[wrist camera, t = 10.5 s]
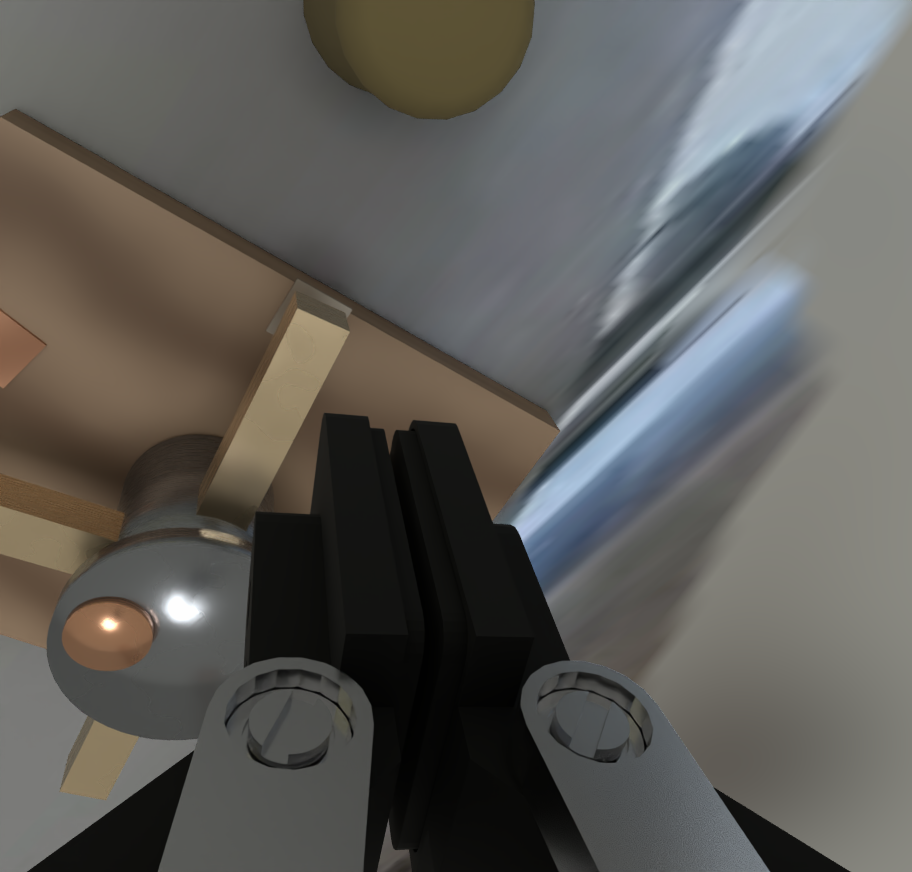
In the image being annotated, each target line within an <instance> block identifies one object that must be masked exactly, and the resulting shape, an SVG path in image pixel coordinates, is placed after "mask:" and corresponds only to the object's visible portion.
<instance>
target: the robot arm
mask: <svg viewBox="0 0 912 872" xmlns="http://www.w3.org/2000/svg"><path fill="white" fill-rule="evenodd" d="M388 818H389V825H390V833H391V840H392V845H393V848H394V849H395V850H405V849H409V852H410V860H411V867H412V872H850V871H848V870H847V869H845V868H843V867H842V866H840V865H838V864H837V863H835V862H834V861H832V860H830V859H829V858H827V857H825V856H824V855H822V854H821V853H819V852H818V851H816V850H814V849H813V848H811V847H809V846H808V845H806V844H805V843H803V842H801V841H800V840H798V839H796V838H795V837H793V836H792V835H790V834H788V833H787V832H785V831H784V830H782V829H780V828H779V827H777V826H775V825H774V824H772V823H771V822H769V821H767V820H766V819H764V818H762V817H761V816H759V815H757V814H756V813H754V812H753V811H751V810H750V809H748V808H746V807H745V806H743V805H741V804H740V803H738V802H736V801H735V800H733V799H732V798H730V797H728V796H726V795H725V794H724V793H722V792H720V791H719V790H717V789H716V788H714V787H713V786H712V785H711V784H710V782H709V780H708V779H707V778H706V776H705V775H704V773H703V772H702V770H701V769H700V767H699V766H698V764H697V763H696V761H695V760H694V758H693V757H692V755H691V754H690V752H689V751H688V749H687V748H686V746H685V745H684V743H683V742H682V740H681V739H680V737H679V736H678V734H677V733H676V732H675V730H674V729H673V727H672V726H671V724H670V723H669V721H668V720H667V718H666V717H665V715H664V714H663V713H662V711H661V709H660V708H659V706H658V705H657V704H656V703H655V702H654V700H653V699H652V698H651V697H650V696H649V695H648V694H647V692H646V691H645V690H644V689H643V688H641V687H640V686H638V685H637V684H636V683H634V682H633V681H632V680H630V679H629V678H628V677H626V676H624V675H622V674H620V673H618V672H616V671H614V670H612V669H609V668H607V667H605V666H601V665H597V664H593V663H589V662H585V661H570V659H569V657H568V654H567V652H566V649H565V647H564V644H563V642H562V639H561V637H560V634H559V632H558V629H557V627H556V624H555V622H554V619H553V617H552V614H551V612H550V609H549V607H548V605H547V602H546V600H545V597H544V595H543V592H542V590H541V587H540V585H539V582H538V580H537V577H536V575H535V572H534V570H533V567H532V565H531V562H530V560H529V557H528V555H527V552H526V550H525V547H524V545H523V542H522V540H521V537H520V535H519V533H518V531H517V530H516V528H515V527H514V526H512V525H506V524H493V522H492V519H491V516H490V514H489V511H488V508H487V505H486V503H485V500H484V497H483V494H482V492H481V489H480V486H479V483H478V481H477V478H476V475H475V472H474V470H473V467H472V464H471V462H470V459H469V456H468V453H467V451H466V448H465V445H464V442H463V440H462V437H461V434H460V431H459V429H458V426H457V425H456V423H445V422H433V421H420V420H413V421H412V422H411V424H410V427H409V430H408V431H406V430H396V431H395V432H394V435H393V440H392V445H391V451H390V454H389V449H388V445H387V440H386V435H385V431H384V429H381V428H370V422H369V418H368V416H359V415H346V414H334V413H324V414H323V418H322V423H321V430H320V438H319V446H318V454H317V462H316V470H315V478H314V486H313V494H312V502H311V510H310V514H296V513H277V512H258V511H256V512H255V519H254V529H253V540H252V551H251V563H250V575H249V587H248V601H247V615H246V632H245V650H244V668H243V669H241V670H239V671H237V672H235V673H233V674H232V675H231V676H230V677H229V678H228V679H227V680H226V681H225V682H224V683H222V684H221V685H220V686H219V687H218V688H217V690H216V692H215V694H214V696H213V697H212V699H211V701H210V703H209V705H208V707H207V711H206V714H205V717H204V720H203V724H202V727H201V730H200V734H199V737H198V740H197V744H196V747H195V750H194V751H193V752H191V753H190V754H189V755H187V756H186V757H184V758H183V759H182V760H180V761H179V762H177V763H176V764H175V765H173V766H172V767H171V768H169V769H168V770H166V771H165V772H164V773H162V774H161V775H160V776H158V777H157V778H155V779H154V780H153V781H151V782H150V783H149V784H147V785H146V786H144V787H143V788H142V789H140V790H139V791H138V792H136V793H135V794H133V795H132V796H131V797H129V798H128V799H127V800H125V801H124V802H122V803H121V804H120V805H118V806H117V807H116V808H114V809H113V810H111V811H110V812H109V813H107V814H106V815H105V816H103V817H102V818H100V819H99V820H98V821H96V822H95V823H94V824H92V825H91V826H89V827H88V828H87V829H85V830H84V831H83V832H81V833H80V834H78V835H77V836H76V837H74V838H73V839H72V840H70V841H69V842H67V843H66V844H65V845H63V846H62V847H60V848H59V849H58V850H56V851H55V852H54V853H52V854H51V855H49V856H48V857H47V858H45V859H44V860H43V861H41V862H40V863H38V864H37V865H36V866H34V867H33V868H32V869H30V870H29V871H27V872H377V868H378V863H379V859H380V854H381V850H382V845H383V841H384V836H385V832H386V827H387V823H388Z"/></svg>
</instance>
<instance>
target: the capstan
mask: <svg viewBox="0 0 912 872" xmlns="http://www.w3.org/2000/svg"><path fill="white" fill-rule="evenodd" d="M349 333H350V330H349V326H348V322H347V318H346V314H345V312H342V311H340V310H338V309H336V308H334V307H331V306H329V305H327V304H325V303H323V302H321V301H318V300H316V299H314V298H312V297H310V296H307V295H305V294H303V293H301V292H299V291H296V290H295V292H294V294H293V296H292V298H291V301H290V303H289V305H288V307H287V309H286V311H285V313H284V315H283V317H282V319H281V321H280V323H279V325H278V327H277V329H276V331H275V333H274V335H273V337H272V339H271V341H270V344H269V346H268V348H267V350H266V352H265V354H264V356H263V358H262V360H261V362H260V364H259V366H258V368H257V370H256V372H255V374H254V376H253V378H252V380H251V382H250V385H249V387H248V389H247V391H246V393H245V395H244V397H243V399H242V401H241V403H240V405H239V407H238V409H237V411H236V413H235V415H234V417H233V419H232V421H231V423H230V426H229V428H228V430H227V432H226V434H225V436H224V438H220V437H216V436H211V435H199V434H198V435H184V436H178V437H174V438H171V439H168V440H165V441H163V442H160V443H158V444H156V445H155V446H153V447H151V448H150V449H148V450H147V451H146V452H144V453H143V454H142V455H141V456H140V457H139V458H138V459H137V460H136V461H135V463H134V464H133V465H132V467H131V468H130V470H129V472H128V474H127V477H126V479H125V482H124V486H123V489H122V493H121V497H120V500H119V504H118V508H117V510H114V509H111V508H108V507H105V506H101V505H98V504H95V503H92V502H89V501H86V500H83V499H79V498H76V497H73V496H70V495H67V494H64V493H61V492H58V491H54V490H51V489H48V488H45V487H42V486H39V485H36V484H33V483H29V482H26V481H23V480H20V479H17V478H14V477H11V476H8V475H4V474H1V473H0V554H2V555H6V556H9V557H13V558H16V559H20V560H23V561H27V562H30V563H34V564H37V565H41V566H44V567H48V568H52V569H55V570H59V571H62V572H66V573H69V574H73V575H72V576H71V577H70V578H69V580H68V581H67V582H66V584H65V586H64V588H63V590H62V591H61V593H60V595H59V598H58V601H57V604H56V607H55V610H54V613H53V616H52V619H51V622H50V625H49V629H48V635H47V657H48V662H49V667H50V670H51V672H52V674H53V677H54V679H55V681H56V683H57V684H58V686H59V688H60V689H61V691H62V692H63V693H64V694H65V696H66V697H67V698H68V699H69V700H70V702H72V703H73V704H74V705H75V706H76V707H77V708H78V709H79V710H81V711H82V712H83V713H85V714H86V715H88V717H87V719H86V721H85V723H84V725H83V727H82V729H81V731H80V733H79V735H78V737H77V739H76V741H75V743H74V745H73V747H72V749H71V751H70V753H69V756H68V760H67V764H66V768H65V772H64V776H63V780H62V784H61V788H60V792H65V793H70V794H75V795H81V796H86V797H91V798H97V799H102V800H106V799H107V797H108V795H109V793H110V791H111V790H112V788H113V786H114V784H115V782H116V780H117V778H118V776H119V774H120V772H121V770H122V768H123V767H124V765H125V763H126V761H127V759H128V757H129V755H130V753H131V751H132V749H133V747H134V745H135V744H136V742H137V740H138V738H139V737H144V738H150V739H160V740H188V739H197V738H198V737H199V734H200V730H201V727H202V724H203V720H204V717H205V714H206V711H207V707H208V705H209V703H210V701H211V699H212V697H213V696H214V694H215V692H216V690H217V688H218V687H219V686H220V685H221V684H222V683H224V682H225V681H226V680H227V679H228V678H229V677H230V676H231V675H232V674H233V673H235V672H237V671H239V670H241V669H243V668H244V650H245V632H246V615H247V601H248V587H249V575H250V563H251V551H252V540H253V529H254V519H255V512H256V511H258V512H274V494H273V487H272V481H273V479H274V477H275V475H276V473H277V471H278V469H279V467H280V465H281V463H282V461H283V460H284V458H285V456H286V454H287V452H288V450H289V448H290V446H291V444H292V442H293V440H294V438H295V437H296V435H297V433H298V431H299V429H300V427H301V425H302V423H303V421H304V419H305V417H306V415H307V413H308V412H309V410H310V408H311V406H312V404H313V402H314V400H315V398H316V396H317V394H318V392H319V390H320V389H321V387H322V385H323V383H324V381H325V379H326V377H327V375H328V373H329V371H330V369H331V367H332V366H333V364H334V362H335V360H336V358H337V356H338V354H339V352H340V350H341V348H342V346H343V344H344V342H345V341H346V339H347V337H348V335H349Z"/></svg>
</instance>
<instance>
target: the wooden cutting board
mask: <svg viewBox="0 0 912 872" xmlns="http://www.w3.org/2000/svg"><path fill="white" fill-rule="evenodd" d="M295 290H296V291H299V292H301V293H303V294H305V295H307V296H310V297H312V298H314V299H316V300H318V301H321V302H323V303H325V304H327V305H329V306H331V307H334V308H336V309H338V310H340V311H342V312H345V314H346V318H347V322H348V326H349V330H350V333H349V335H348V337H347V339H346V341H345V342H344V344H343V346H342V348H341V350H340V352H339V354H338V356H337V358H336V360H335V362H334V364H333V366H332V367H331V369H330V371H329V373H328V375H327V377H326V379H325V381H324V383H323V385H322V387H321V389H320V390H319V392H318V394H317V396H316V398H315V400H314V402H313V404H312V406H311V408H310V410H309V412H308V413H307V415H306V417H305V419H304V421H303V423H302V425H301V427H300V429H299V431H298V433H297V435H296V437H295V438H294V440H293V442H292V444H291V446H290V448H289V450H288V452H287V454H286V456H285V458H284V460H283V461H282V463H281V465H280V467H279V469H278V471H277V473H276V475H275V477H274V479H273V481H272V487H273V494H274V512H277V513H296V514H310V510H311V502H312V494H313V486H314V478H315V470H316V462H317V454H318V446H319V438H320V430H321V423H322V418H323V414H324V413H334V414H346V415H359V416H368V418H369V422H370V428H381V429H384V431H385V435H386V440H387V445H388V449H389V454H390V451H391V445H392V440H393V435H394V432H395V431H396V430H406V431H408V430H409V427H410V424H411V422H412V421H413V420H420V421H433V422H445V423H456V425H457V426H458V429H459V431H460V434H461V437H462V440H463V442H464V445H465V448H466V451H467V453H468V456H469V459H470V462H471V464H472V467H473V470H474V472H475V475H476V478H477V481H478V483H479V486H480V489H481V492H482V494H483V497H484V500H485V503H486V505H487V508H488V511H489V514H490V516H491V519H492V521H493V519H494V518H495V517H496V515H497V514H498V513H499V511H500V510H501V509H502V507H503V506H504V505H505V503H506V502H507V501H508V499H509V498H510V497H511V495H512V494H513V493H514V491H515V490H516V489H517V487H518V486H519V485H520V483H521V482H522V481H523V480H524V478H525V477H526V476H527V474H528V473H529V472H530V470H531V469H532V468H533V466H534V465H535V464H536V462H537V461H538V460H539V458H540V457H541V456H542V454H543V453H544V452H545V450H546V449H547V448H548V446H549V445H550V444H551V442H552V441H553V440H554V438H555V437H556V436H557V434H558V433H559V432H560V430H559V429H558V427H557V426H556V424H555V423H554V421H553V420H552V418H551V417H550V415H549V414H548V412H547V411H546V410H544V409H542V408H540V407H539V406H537V405H535V404H533V403H532V402H530V401H528V400H526V399H525V398H523V397H521V396H519V395H518V394H516V393H514V392H512V391H510V390H509V389H507V388H505V387H503V386H502V385H500V384H498V383H496V382H495V381H493V380H491V379H489V378H488V377H486V376H484V375H482V374H481V373H479V372H477V371H475V370H474V369H472V368H470V367H468V366H467V365H465V364H463V363H461V362H460V361H458V360H456V359H454V358H452V357H451V356H449V355H447V354H445V353H444V352H442V351H440V350H438V349H437V348H435V347H433V346H431V345H430V344H428V343H426V342H424V341H423V340H421V339H419V338H417V337H416V336H414V335H412V334H410V333H409V332H407V331H405V330H403V329H402V328H400V327H398V326H396V325H394V324H393V323H391V322H389V321H387V320H386V319H384V318H382V317H380V316H379V315H377V314H375V313H373V312H372V311H370V310H368V309H366V308H365V307H363V306H361V305H359V304H358V303H356V302H354V301H352V300H351V299H349V298H347V297H345V296H344V295H342V294H340V293H338V292H336V291H335V290H333V289H331V288H329V287H328V286H326V285H324V284H322V283H321V282H319V281H317V280H315V279H314V278H312V277H310V276H308V275H307V274H305V273H303V272H301V271H300V270H298V269H296V268H294V267H293V266H291V265H289V264H287V263H286V262H284V261H282V260H280V259H279V258H277V257H275V256H273V255H271V254H270V253H268V252H266V251H264V250H263V249H261V248H259V247H257V246H256V245H254V244H252V243H250V242H249V241H247V240H245V239H243V238H242V237H240V236H238V235H236V234H235V233H233V232H231V231H229V230H228V229H226V228H224V227H222V226H221V225H219V224H217V223H215V222H213V221H212V220H210V219H208V218H206V217H205V216H203V215H201V214H199V213H198V212H196V211H194V210H192V209H191V208H189V207H187V206H185V205H184V204H182V203H180V202H178V201H177V200H175V199H173V198H171V197H170V196H168V195H166V194H164V193H163V192H161V191H159V190H157V189H155V188H154V187H152V186H150V185H148V184H147V183H145V182H143V181H141V180H140V179H138V178H136V177H134V176H133V175H131V174H129V173H127V172H126V171H124V170H122V169H120V168H119V167H117V166H115V165H113V164H112V163H110V162H108V161H106V160H105V159H103V158H101V157H99V156H97V155H96V154H94V153H92V152H90V151H89V150H87V149H85V148H83V147H82V146H80V145H78V144H76V143H75V142H73V141H71V140H69V139H68V138H66V137H64V136H62V135H61V134H59V133H57V132H55V131H54V130H52V129H50V128H48V127H47V126H45V125H43V124H41V123H39V122H38V121H36V120H34V119H32V118H31V117H29V116H27V115H25V114H24V113H22V112H20V111H18V110H17V109H14V110H12V111H10V112H8V113H6V114H5V115H3V116H1V117H0V473H1V474H4V475H8V476H11V477H14V478H17V479H20V480H23V481H26V482H29V483H33V484H36V485H39V486H42V487H45V488H48V489H51V490H54V491H58V492H61V493H64V494H67V495H70V496H73V497H76V498H79V499H83V500H86V501H89V502H92V503H95V504H98V505H101V506H105V507H108V508H111V509H114V510H117V508H118V504H119V500H120V497H121V493H122V489H123V486H124V482H125V479H126V477H127V474H128V472H129V470H130V468H131V467H132V465H133V464H134V463H135V461H136V460H137V459H138V458H139V457H140V456H141V455H142V454H143V453H144V452H146V451H147V450H148V449H150V448H151V447H153V446H155V445H156V444H158V443H160V442H163V441H165V440H168V439H171V438H174V437H178V436H184V435H198V434H199V435H211V436H216V437H220V438H224V436H225V434H226V432H227V430H228V428H229V426H230V423H231V421H232V419H233V417H234V415H235V413H236V411H237V409H238V407H239V405H240V403H241V401H242V399H243V397H244V395H245V393H246V391H247V389H248V387H249V385H250V382H251V380H252V378H253V376H254V374H255V372H256V370H257V368H258V366H259V364H260V362H261V360H262V358H263V356H264V354H265V352H266V350H267V348H268V346H269V344H270V341H271V339H272V337H273V335H274V333H275V331H276V329H277V327H278V325H279V323H280V321H281V319H282V317H283V315H284V313H285V311H286V309H287V307H288V305H289V303H290V301H291V298H292V296H293V294H294V292H295ZM72 575H73V574H69V573H66V572H62V571H59V570H55V569H52V568H48V567H44V566H41V565H37V564H34V563H30V562H27V561H23V560H20V559H16V558H13V557H9V556H6V555H2V554H0V634H1V635H4V636H7V637H10V638H14V639H17V640H20V641H23V642H26V643H29V644H32V645H36V646H39V647H42V648H45V649H47V635H48V629H49V625H50V622H51V619H52V616H53V613H54V610H55V607H56V604H57V601H58V598H59V595H60V593H61V591H62V590H63V588H64V586H65V584H66V582H67V581H68V580H69V578H70V577H71V576H72Z"/></svg>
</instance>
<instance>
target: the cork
mask: <svg viewBox="0 0 912 872" xmlns="http://www.w3.org/2000/svg"><path fill="white" fill-rule="evenodd" d="M303 3H304V17H305V20H306V23H307V27H308V30H309V33H310V36H311V40H312V43H313V45H314V46H315V48H316V49H317V51H318V52H319V54H320V55H321V57H322V58H323V60H324V61H325V63H326V64H327V66H328V67H329V68H330V69H331V70H332V71H334V72H335V73H336V74H337V75H339V76H340V77H341V78H342V79H343V80H345V81H346V82H347V83H348V84H349V85H352V86H354V87H357V88H359V89H362V90H364V91H367V92H369V93H372V94H373V95H375V96H376V97H377V98H378V99H379V100H381V101H382V102H383V103H384V104H385V105H387V106H388V107H389V108H392V109H394V110H397V111H399V112H402V113H405V114H407V115H410V116H412V117H415V118H420V119H446V120H447V119H450V118H453V117H456V116H460V115H463V114H466V113H469V112H473V111H475V110H477V109H478V108H479V107H481V106H482V105H484V104H485V103H486V102H488V101H489V100H491V99H492V98H493V97H495V96H496V95H498V94H499V93H500V92H502V90H503V89H504V88H505V86H506V85H507V84H508V82H509V81H510V80H511V78H512V77H513V76H514V74H515V73H516V72H517V70H518V69H519V68H520V66H521V63H522V61H523V58H524V56H525V53H526V50H527V48H528V45H529V42H530V40H531V37H532V28H533V17H534V6H535V2H534V0H303Z"/></svg>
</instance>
